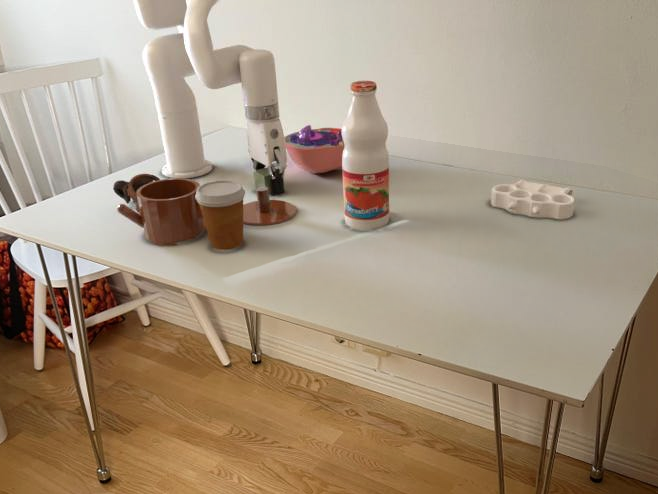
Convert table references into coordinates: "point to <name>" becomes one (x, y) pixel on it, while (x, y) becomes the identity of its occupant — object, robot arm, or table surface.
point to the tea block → (263, 178)
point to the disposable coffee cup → (222, 212)
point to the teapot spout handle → (130, 214)
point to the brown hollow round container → (170, 211)
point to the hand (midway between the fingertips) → (270, 189)
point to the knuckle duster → (534, 200)
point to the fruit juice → (365, 160)
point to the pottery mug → (132, 187)
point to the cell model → (316, 149)
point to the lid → (267, 210)
